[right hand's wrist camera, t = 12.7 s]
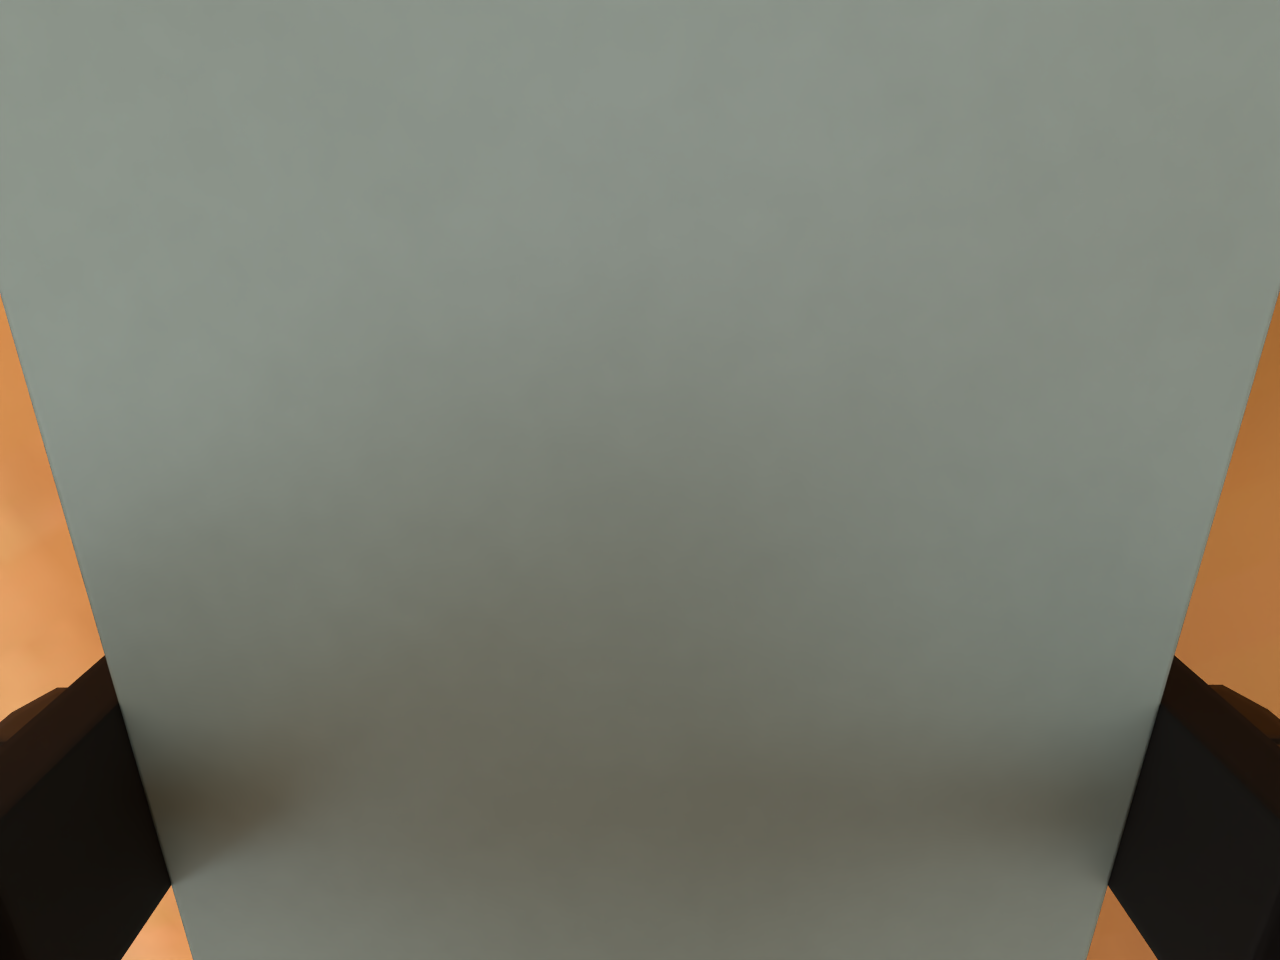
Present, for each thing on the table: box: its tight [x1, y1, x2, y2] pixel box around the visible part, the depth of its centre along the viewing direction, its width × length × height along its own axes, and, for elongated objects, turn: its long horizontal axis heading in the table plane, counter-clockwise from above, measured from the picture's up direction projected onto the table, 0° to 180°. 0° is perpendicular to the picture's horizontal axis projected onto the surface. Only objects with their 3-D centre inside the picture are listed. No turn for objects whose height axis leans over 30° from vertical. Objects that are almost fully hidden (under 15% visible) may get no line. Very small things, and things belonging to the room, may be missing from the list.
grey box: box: [0, 0, 1280, 960], centre depth 13 cm, size 13×12×11 cm
